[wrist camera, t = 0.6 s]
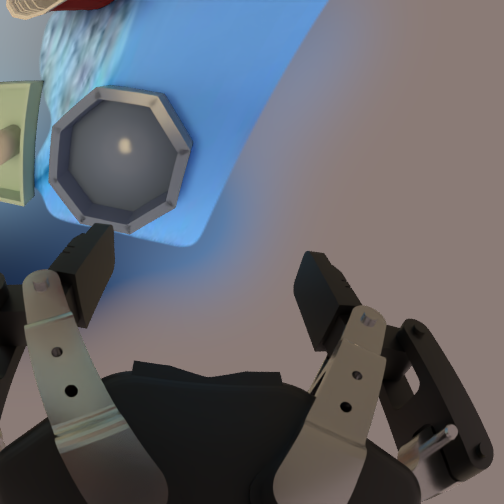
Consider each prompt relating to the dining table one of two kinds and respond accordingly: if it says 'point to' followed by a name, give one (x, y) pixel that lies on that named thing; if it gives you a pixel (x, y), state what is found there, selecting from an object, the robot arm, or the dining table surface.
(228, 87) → the dining table surface
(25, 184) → the tray
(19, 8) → the plastic cup
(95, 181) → the bowl
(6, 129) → the beige rounded piece
